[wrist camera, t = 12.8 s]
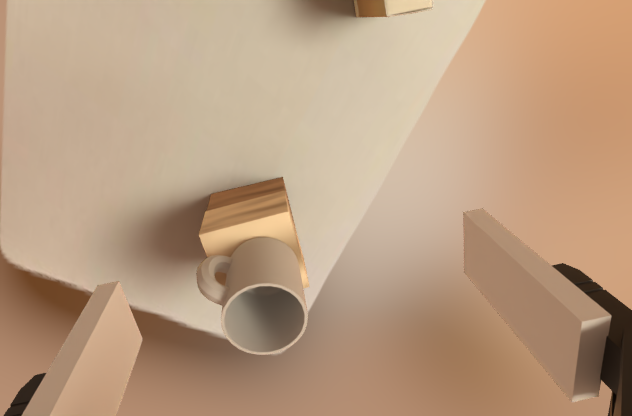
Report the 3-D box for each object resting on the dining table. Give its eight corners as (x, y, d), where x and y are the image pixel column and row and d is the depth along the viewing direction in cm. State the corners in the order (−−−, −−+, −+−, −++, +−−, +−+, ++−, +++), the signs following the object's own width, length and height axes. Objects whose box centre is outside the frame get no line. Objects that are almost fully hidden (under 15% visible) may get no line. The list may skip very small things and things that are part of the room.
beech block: (205, 211, 48) (198, 235, 42) (284, 190, 48) (288, 211, 43) (230, 278, 51) (227, 308, 46) (303, 259, 52) (309, 286, 46)
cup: (282, 304, 47) (287, 363, 38) (191, 276, 44) (175, 333, 36) (309, 248, 44) (321, 298, 36) (215, 215, 42) (205, 261, 34)
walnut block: (211, 193, 53) (206, 212, 48) (282, 176, 54) (285, 193, 48) (231, 256, 57) (228, 280, 52) (298, 240, 57) (302, 262, 52)
